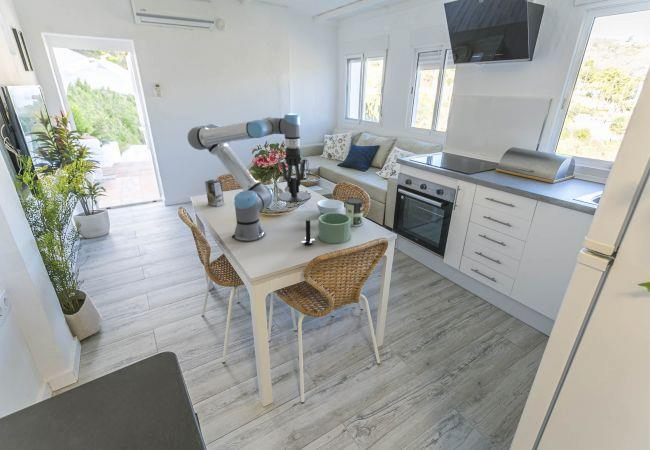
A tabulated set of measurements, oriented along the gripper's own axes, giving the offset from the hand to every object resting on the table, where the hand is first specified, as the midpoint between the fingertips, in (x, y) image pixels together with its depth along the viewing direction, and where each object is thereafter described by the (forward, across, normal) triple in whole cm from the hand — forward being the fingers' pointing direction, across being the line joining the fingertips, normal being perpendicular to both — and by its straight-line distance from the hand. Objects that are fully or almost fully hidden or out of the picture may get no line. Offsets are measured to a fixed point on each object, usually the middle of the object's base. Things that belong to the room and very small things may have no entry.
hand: (294, 192), depth 165 cm
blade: (+23, +1, -17) cm, 28 cm away
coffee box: (+23, -33, +64) cm, 76 cm away
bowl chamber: (+23, +17, -15) cm, 32 cm away
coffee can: (+23, +36, -3) cm, 43 cm away
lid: (+3, 0, 0) cm, 3 cm away
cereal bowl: (+23, +30, +16) cm, 41 cm away
